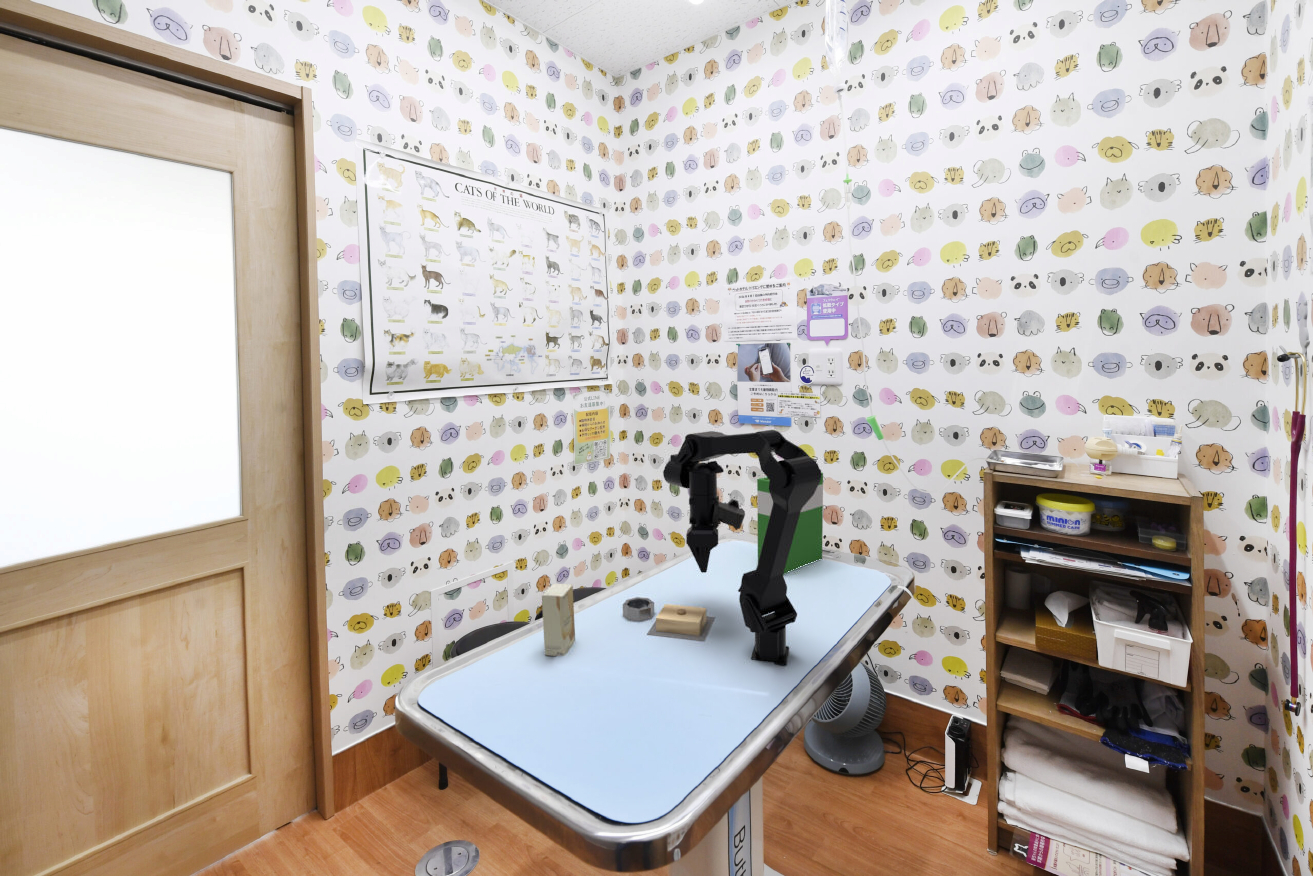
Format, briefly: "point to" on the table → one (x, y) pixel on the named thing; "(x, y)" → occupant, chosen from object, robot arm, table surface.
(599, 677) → the table surface
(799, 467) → the robot arm
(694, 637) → the mat
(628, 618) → the bowl
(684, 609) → the lid
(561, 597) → the skincare box
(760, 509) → the hardback book
